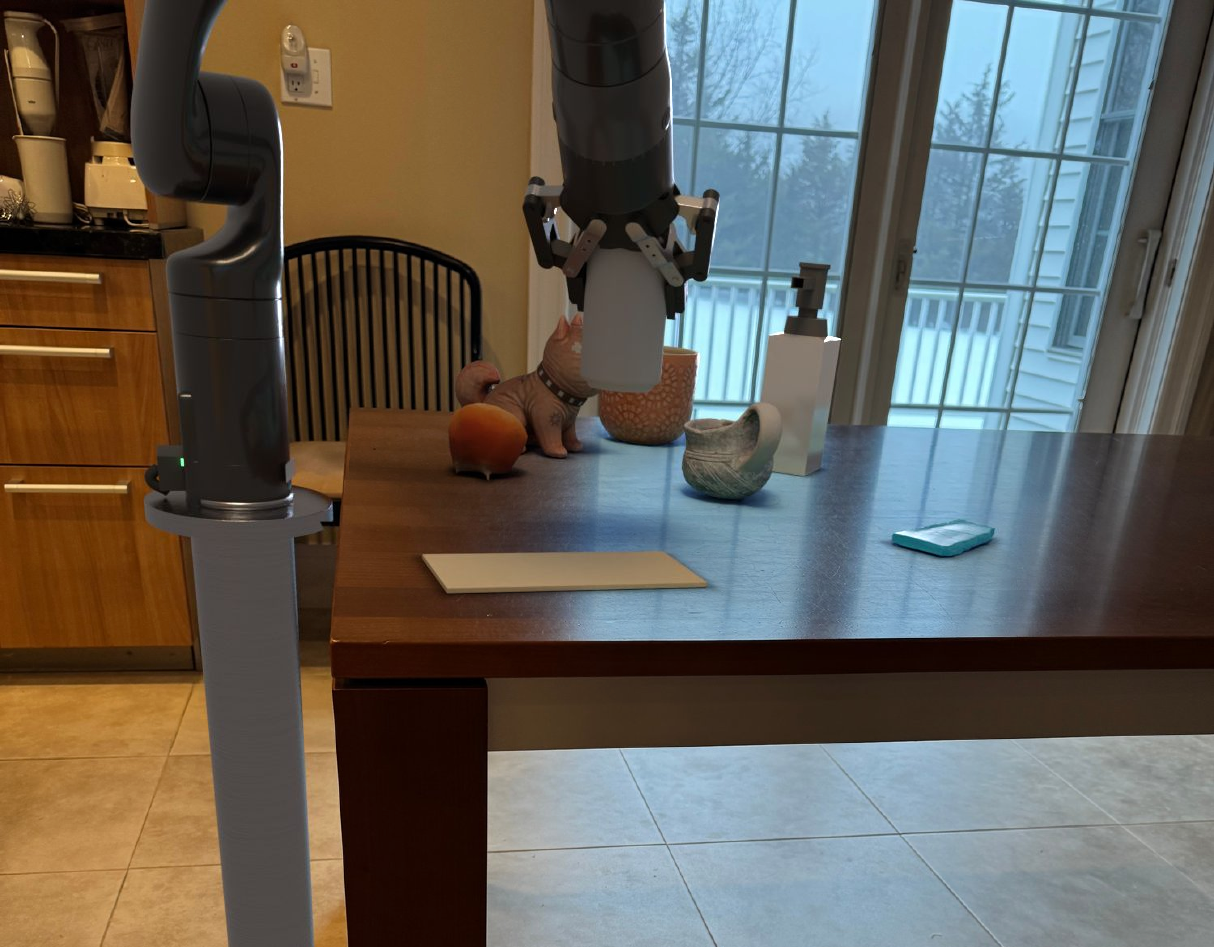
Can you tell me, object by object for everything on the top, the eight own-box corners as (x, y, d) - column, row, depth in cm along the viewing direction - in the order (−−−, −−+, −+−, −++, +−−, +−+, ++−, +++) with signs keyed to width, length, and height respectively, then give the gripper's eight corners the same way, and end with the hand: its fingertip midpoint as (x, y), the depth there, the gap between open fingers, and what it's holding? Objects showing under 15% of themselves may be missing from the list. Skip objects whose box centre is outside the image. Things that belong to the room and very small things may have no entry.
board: (446, 593, 79) (447, 588, 79) (422, 559, 87) (422, 553, 87) (706, 587, 86) (707, 582, 86) (662, 555, 93) (663, 550, 93)
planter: (693, 437, 150) (703, 348, 145) (687, 452, 139) (697, 357, 134) (601, 428, 151) (607, 339, 146) (587, 442, 140) (593, 347, 135)
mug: (730, 484, 123) (742, 387, 118) (809, 511, 114) (826, 406, 109) (659, 489, 117) (668, 387, 113) (736, 517, 108) (750, 407, 104)
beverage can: (596, 392, 86) (608, 214, 80) (567, 381, 91) (576, 213, 85) (672, 395, 88) (689, 221, 83) (639, 384, 93) (653, 220, 88)
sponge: (1015, 534, 107) (963, 513, 110) (945, 548, 99) (891, 526, 102) (1010, 549, 107) (958, 528, 111) (939, 565, 100) (886, 542, 103)
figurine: (596, 466, 126) (606, 320, 119) (438, 444, 130) (439, 303, 124) (622, 453, 134) (633, 317, 128) (473, 433, 139) (476, 300, 132)
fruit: (425, 462, 113) (443, 386, 114) (453, 491, 121) (470, 420, 121) (499, 472, 111) (518, 395, 112) (523, 502, 119) (541, 430, 119)
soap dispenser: (744, 470, 131) (771, 260, 121) (769, 460, 138) (796, 261, 128) (798, 479, 129) (830, 265, 119) (820, 468, 136) (852, 266, 126)
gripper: (733, 77, 73) (727, 277, 88) (516, 63, 75) (548, 262, 90) (716, 165, 70) (712, 354, 86) (492, 149, 72) (529, 337, 88)
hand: (628, 306), depth 88 cm, fingers closed on beverage can, 6 cm apart
